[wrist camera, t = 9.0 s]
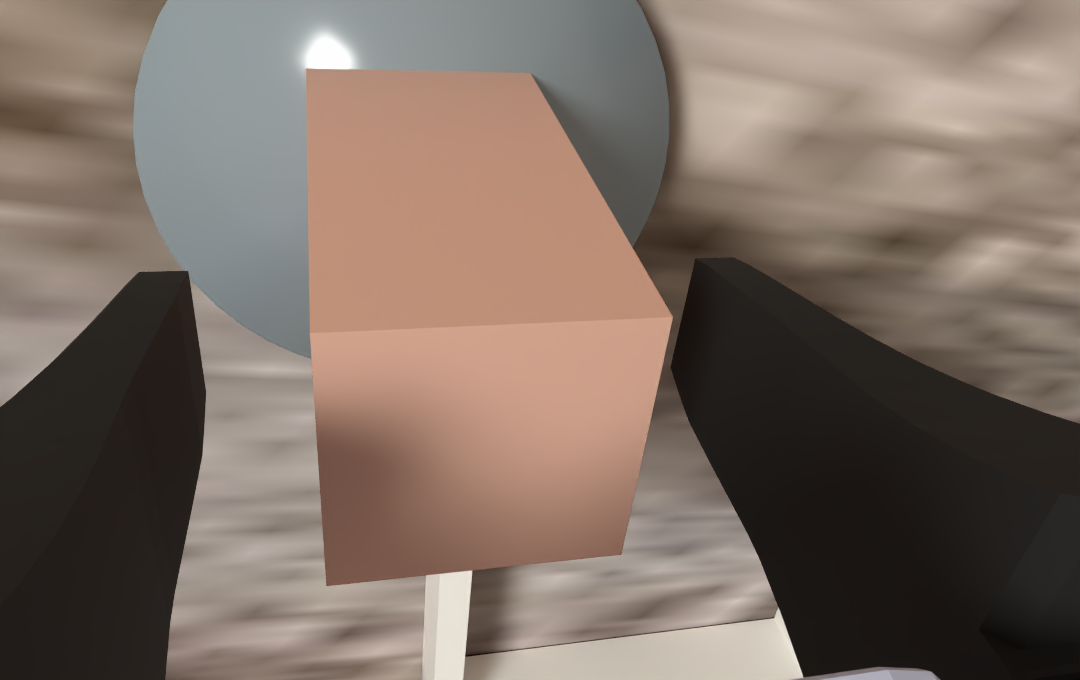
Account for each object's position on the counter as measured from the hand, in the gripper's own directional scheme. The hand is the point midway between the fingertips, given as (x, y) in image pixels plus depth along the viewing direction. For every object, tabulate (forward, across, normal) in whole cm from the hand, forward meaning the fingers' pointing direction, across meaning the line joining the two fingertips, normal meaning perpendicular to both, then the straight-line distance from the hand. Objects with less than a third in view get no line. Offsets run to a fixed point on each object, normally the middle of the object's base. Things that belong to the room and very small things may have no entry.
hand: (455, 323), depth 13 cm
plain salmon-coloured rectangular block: (+5, 0, 0) cm, 5 cm away
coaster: (+6, 0, 0) cm, 6 cm away
